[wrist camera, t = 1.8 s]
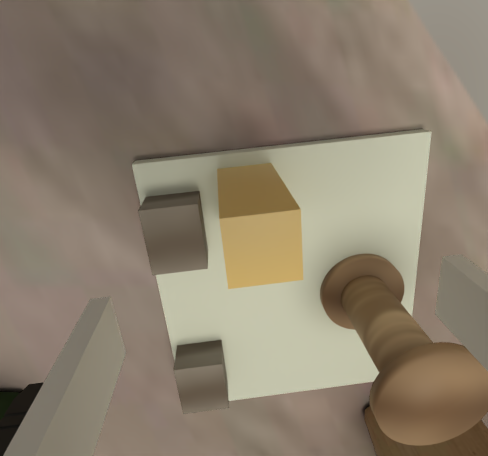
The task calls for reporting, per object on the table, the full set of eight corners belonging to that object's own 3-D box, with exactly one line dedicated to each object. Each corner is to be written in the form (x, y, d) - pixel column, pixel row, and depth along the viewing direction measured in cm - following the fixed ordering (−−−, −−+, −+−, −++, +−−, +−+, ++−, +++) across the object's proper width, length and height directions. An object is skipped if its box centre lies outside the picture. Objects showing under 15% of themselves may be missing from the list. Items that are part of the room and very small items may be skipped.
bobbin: (319, 258, 31) (379, 364, 20) (401, 248, 31) (506, 347, 20) (320, 326, 33) (373, 452, 22) (396, 317, 34) (485, 436, 23)
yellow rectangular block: (216, 168, 27) (219, 218, 18) (271, 162, 27) (300, 209, 18) (223, 219, 29) (228, 289, 19) (274, 213, 29) (303, 279, 20)
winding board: (135, 160, 28) (131, 164, 26) (422, 129, 28) (431, 131, 27) (185, 396, 37) (184, 406, 36) (399, 368, 38) (405, 377, 37)
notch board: (145, 196, 27) (138, 210, 25) (199, 190, 28) (197, 204, 25) (185, 387, 35) (183, 414, 32) (227, 381, 35) (229, 407, 32)
